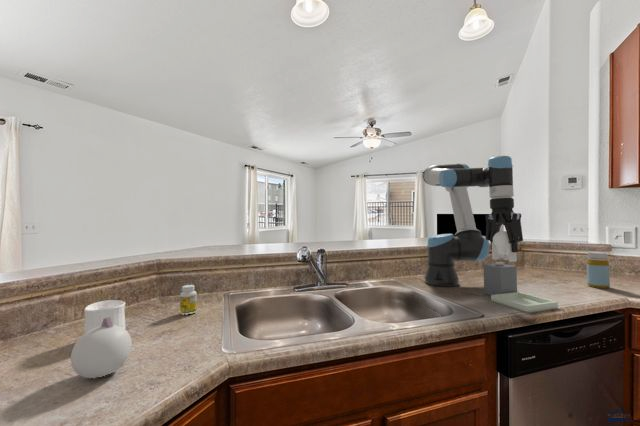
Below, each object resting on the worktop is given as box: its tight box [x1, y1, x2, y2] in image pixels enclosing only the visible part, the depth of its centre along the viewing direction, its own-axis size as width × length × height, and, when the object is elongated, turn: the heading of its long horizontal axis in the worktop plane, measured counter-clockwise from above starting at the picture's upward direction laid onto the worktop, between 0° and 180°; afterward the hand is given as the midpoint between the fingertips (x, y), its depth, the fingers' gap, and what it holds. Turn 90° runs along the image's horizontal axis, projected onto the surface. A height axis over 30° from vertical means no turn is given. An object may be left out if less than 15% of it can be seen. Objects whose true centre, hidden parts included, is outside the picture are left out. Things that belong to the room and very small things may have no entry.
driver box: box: [482, 261, 518, 296], centre depth 115 cm, size 8×8×13 cm
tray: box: [490, 291, 559, 314], centre depth 102 cm, size 14×14×2 cm
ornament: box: [70, 317, 133, 379], centre depth 61 cm, size 10×10×12 cm
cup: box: [83, 299, 126, 335], centre depth 79 cm, size 10×10×10 cm
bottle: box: [586, 251, 611, 289], centre depth 124 cm, size 7×7×15 cm
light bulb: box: [493, 230, 510, 262], centre depth 105 cm, size 7×7×11 cm
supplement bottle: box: [179, 284, 198, 313], centre depth 100 cm, size 5×5×10 cm
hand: (504, 260), depth 104 cm, fingers closed on light bulb, 6 cm apart
